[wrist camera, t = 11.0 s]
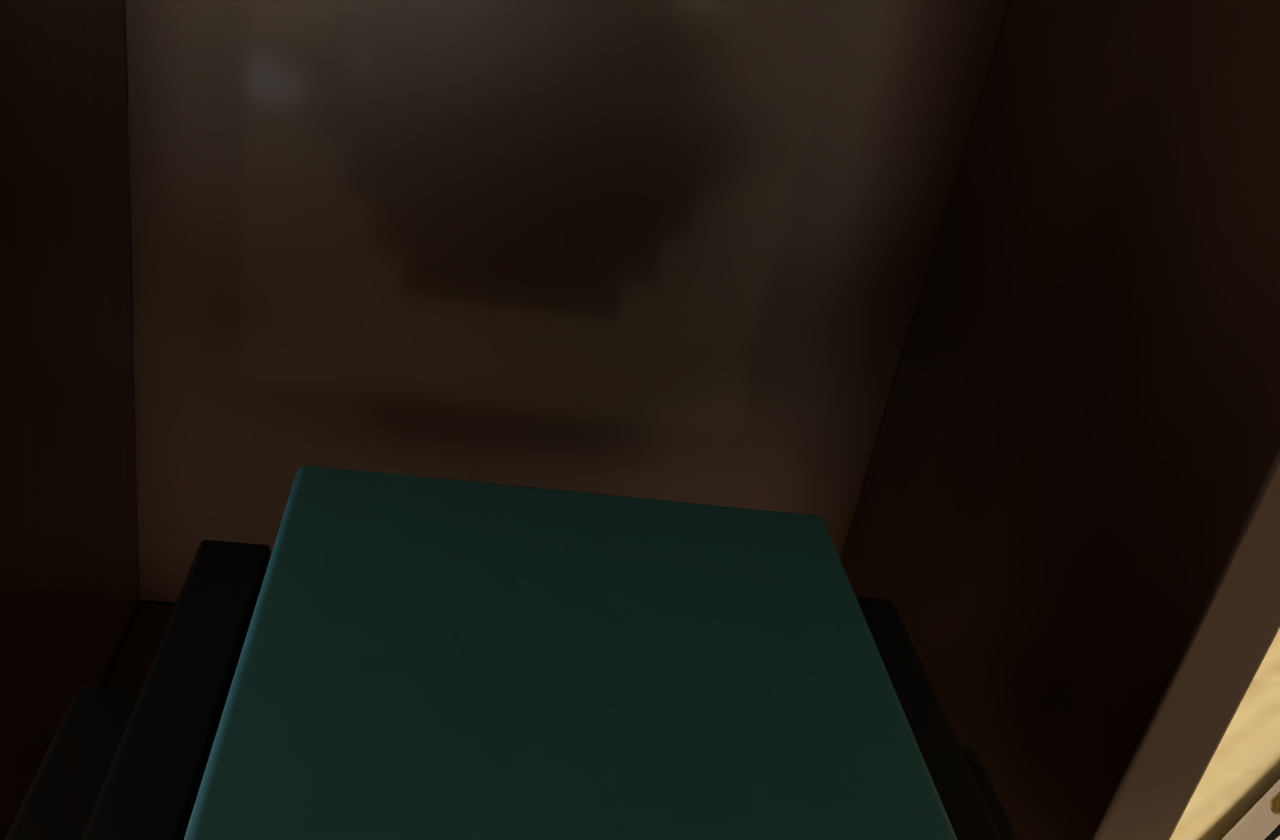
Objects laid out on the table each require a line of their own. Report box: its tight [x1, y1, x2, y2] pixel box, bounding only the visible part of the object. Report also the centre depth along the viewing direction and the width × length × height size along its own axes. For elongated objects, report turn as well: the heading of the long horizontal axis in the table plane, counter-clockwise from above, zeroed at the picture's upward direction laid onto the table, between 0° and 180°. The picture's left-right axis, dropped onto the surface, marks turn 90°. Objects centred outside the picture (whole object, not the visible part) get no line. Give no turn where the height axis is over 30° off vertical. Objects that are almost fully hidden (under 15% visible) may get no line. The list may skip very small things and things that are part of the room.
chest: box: [0, 0, 1280, 840], centre depth 13 cm, size 16×13×9 cm
